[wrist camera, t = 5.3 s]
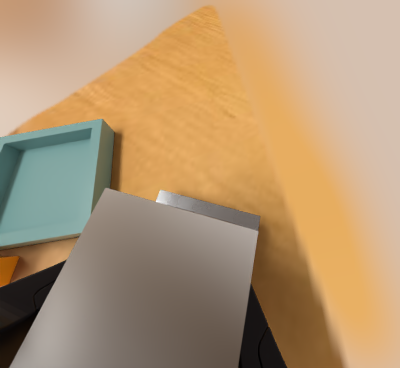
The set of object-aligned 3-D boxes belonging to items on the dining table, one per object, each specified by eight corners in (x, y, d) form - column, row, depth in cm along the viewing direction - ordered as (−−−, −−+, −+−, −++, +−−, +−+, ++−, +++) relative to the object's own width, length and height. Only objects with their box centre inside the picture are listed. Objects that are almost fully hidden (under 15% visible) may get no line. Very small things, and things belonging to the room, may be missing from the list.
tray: (106, 232, 16) (88, 231, 14) (-15, 252, 16) (-53, 255, 14) (114, 132, 21) (102, 118, 19) (21, 148, 21) (-2, 137, 19)
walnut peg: (212, 287, 13) (212, 533, 2) (166, 270, 14) (-4, 390, 3) (223, 236, 15) (258, 231, 4) (181, 224, 16) (105, 187, 4)
